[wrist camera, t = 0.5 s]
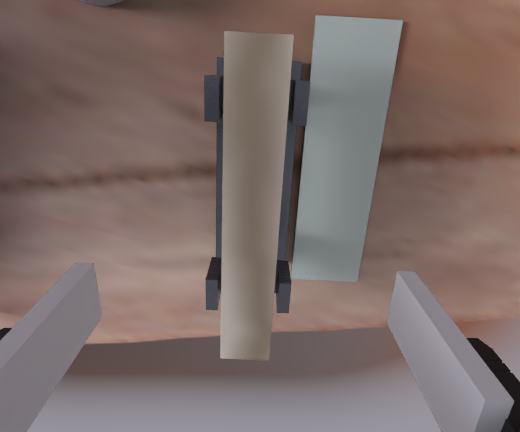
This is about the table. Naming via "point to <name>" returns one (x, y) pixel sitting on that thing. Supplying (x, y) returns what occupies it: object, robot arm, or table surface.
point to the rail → (252, 186)
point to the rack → (295, 118)
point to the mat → (342, 143)
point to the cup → (101, 2)
